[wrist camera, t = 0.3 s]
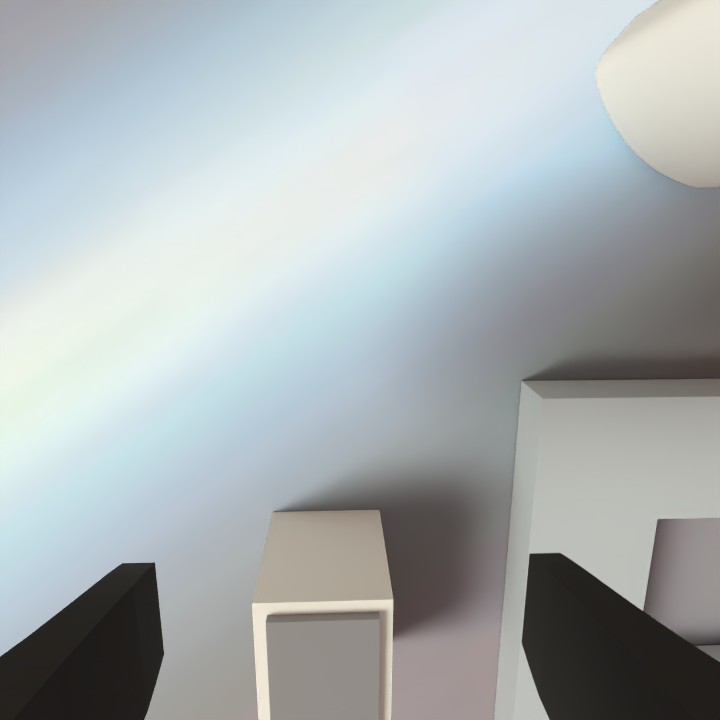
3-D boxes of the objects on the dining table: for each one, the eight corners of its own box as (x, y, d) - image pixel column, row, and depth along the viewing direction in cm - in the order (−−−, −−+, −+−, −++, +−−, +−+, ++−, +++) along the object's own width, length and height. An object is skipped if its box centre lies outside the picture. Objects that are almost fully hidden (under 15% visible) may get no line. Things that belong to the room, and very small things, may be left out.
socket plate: (805, 724, 23) (866, 789, 21) (492, 737, 23) (513, 806, 20) (896, 376, 19) (987, 401, 17) (521, 380, 19) (552, 407, 16)
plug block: (377, 642, 21) (391, 773, 16) (278, 645, 21) (260, 779, 16) (379, 508, 20) (394, 606, 15) (272, 511, 20) (250, 611, 15)
